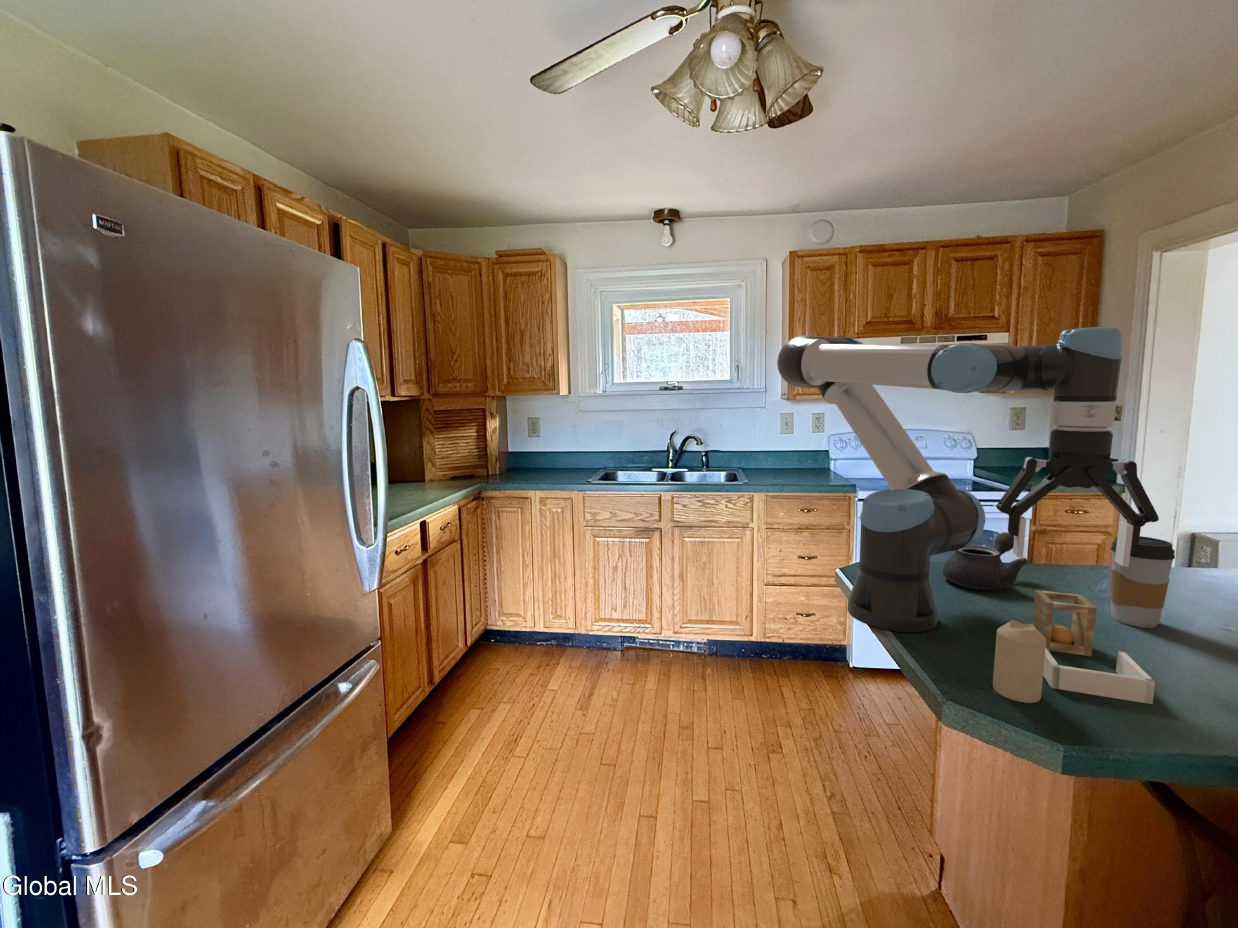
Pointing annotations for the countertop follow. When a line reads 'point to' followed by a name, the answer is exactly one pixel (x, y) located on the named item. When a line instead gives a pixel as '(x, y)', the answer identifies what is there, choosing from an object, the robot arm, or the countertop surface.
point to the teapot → (984, 565)
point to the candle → (1019, 662)
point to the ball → (1061, 635)
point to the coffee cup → (1141, 582)
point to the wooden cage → (1080, 621)
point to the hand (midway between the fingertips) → (1068, 559)
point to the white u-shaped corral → (1102, 680)
